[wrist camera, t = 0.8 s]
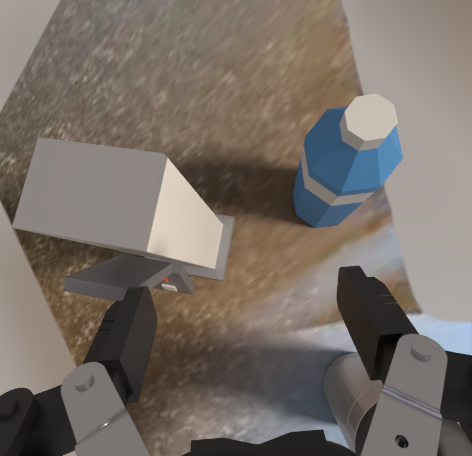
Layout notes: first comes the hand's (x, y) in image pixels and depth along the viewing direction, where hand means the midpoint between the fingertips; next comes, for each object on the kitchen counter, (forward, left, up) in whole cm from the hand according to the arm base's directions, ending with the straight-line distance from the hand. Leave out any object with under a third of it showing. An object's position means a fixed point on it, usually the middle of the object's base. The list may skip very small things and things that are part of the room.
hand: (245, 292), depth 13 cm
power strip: (+10, +9, -35) cm, 38 cm away
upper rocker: (+7, +11, -20) cm, 24 cm away
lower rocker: (+4, +12, -32) cm, 34 cm away
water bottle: (+9, -13, -36) cm, 39 cm away
